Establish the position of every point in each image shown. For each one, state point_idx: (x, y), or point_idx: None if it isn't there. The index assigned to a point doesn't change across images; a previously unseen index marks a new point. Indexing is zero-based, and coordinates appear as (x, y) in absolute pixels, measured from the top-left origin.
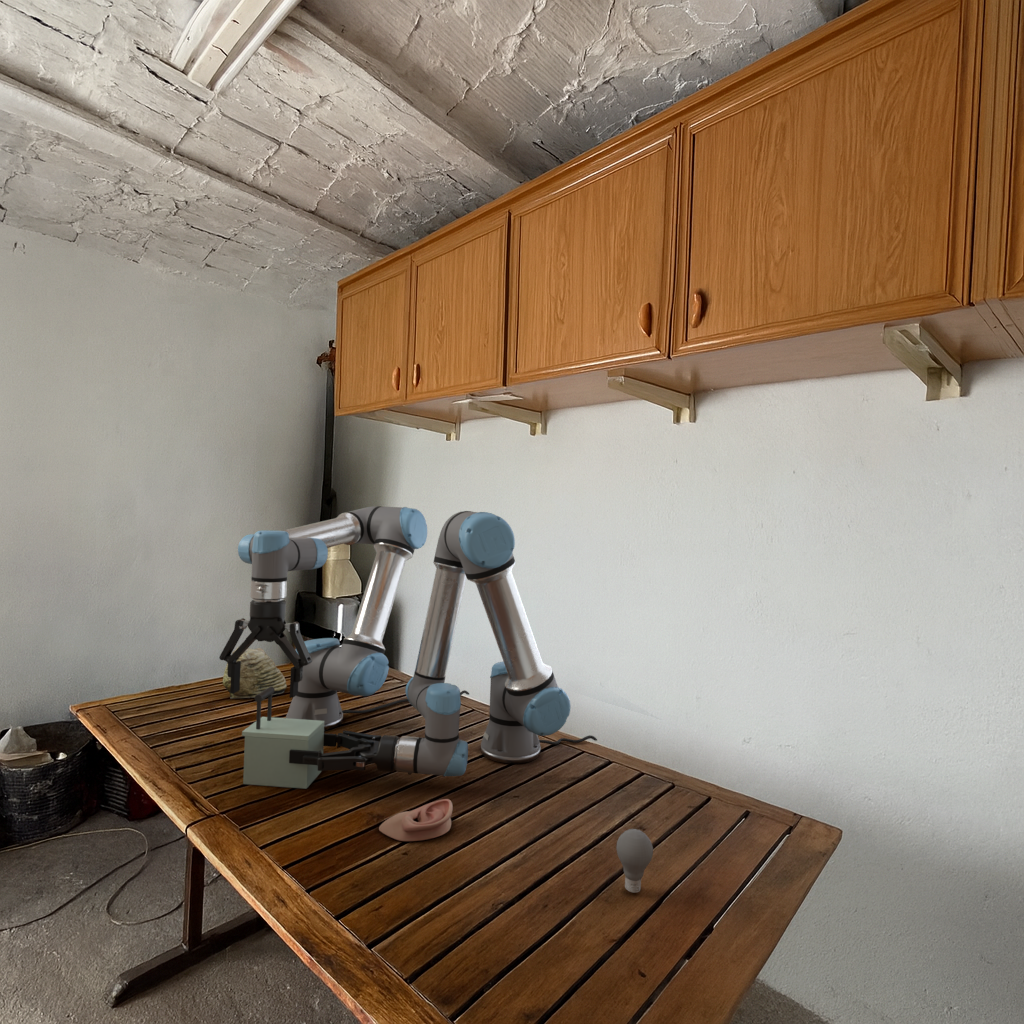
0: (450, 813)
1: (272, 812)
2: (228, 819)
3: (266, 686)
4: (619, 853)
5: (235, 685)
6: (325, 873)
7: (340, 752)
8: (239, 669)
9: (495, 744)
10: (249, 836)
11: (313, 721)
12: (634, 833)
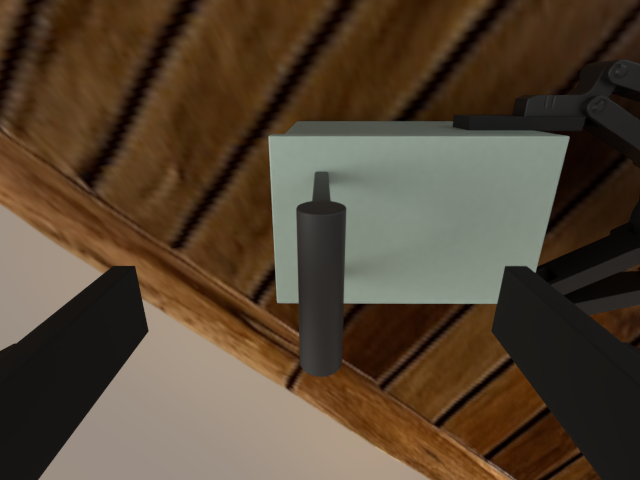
0: None
1: (416, 334)
2: (345, 364)
3: None
4: None
5: (122, 340)
6: (548, 461)
7: (607, 269)
8: (34, 373)
9: None
10: (405, 403)
11: (520, 155)
12: None
